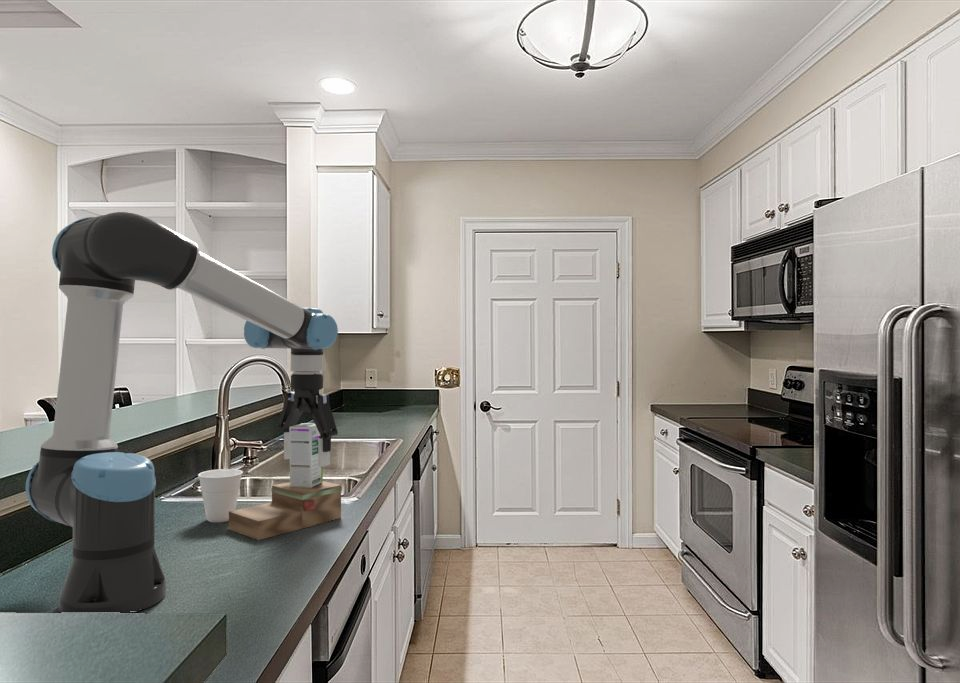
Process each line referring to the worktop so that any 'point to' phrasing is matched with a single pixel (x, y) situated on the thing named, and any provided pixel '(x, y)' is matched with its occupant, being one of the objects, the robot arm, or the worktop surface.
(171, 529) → the worktop surface
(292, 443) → the syrup box
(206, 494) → the cup
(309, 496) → the step stand
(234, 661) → the worktop surface
